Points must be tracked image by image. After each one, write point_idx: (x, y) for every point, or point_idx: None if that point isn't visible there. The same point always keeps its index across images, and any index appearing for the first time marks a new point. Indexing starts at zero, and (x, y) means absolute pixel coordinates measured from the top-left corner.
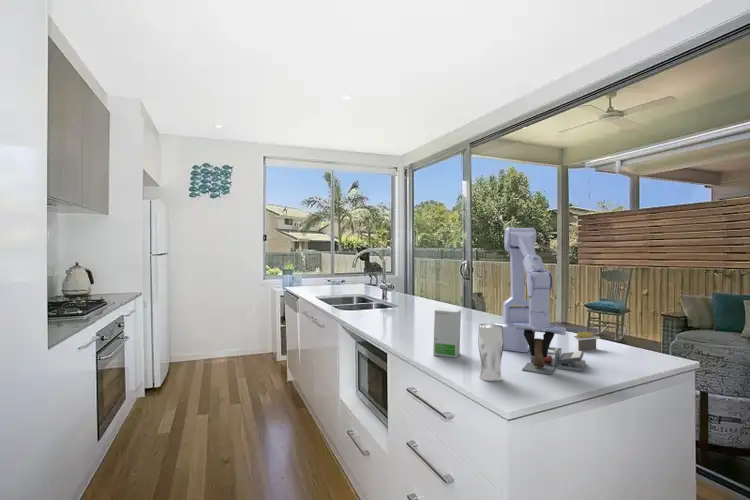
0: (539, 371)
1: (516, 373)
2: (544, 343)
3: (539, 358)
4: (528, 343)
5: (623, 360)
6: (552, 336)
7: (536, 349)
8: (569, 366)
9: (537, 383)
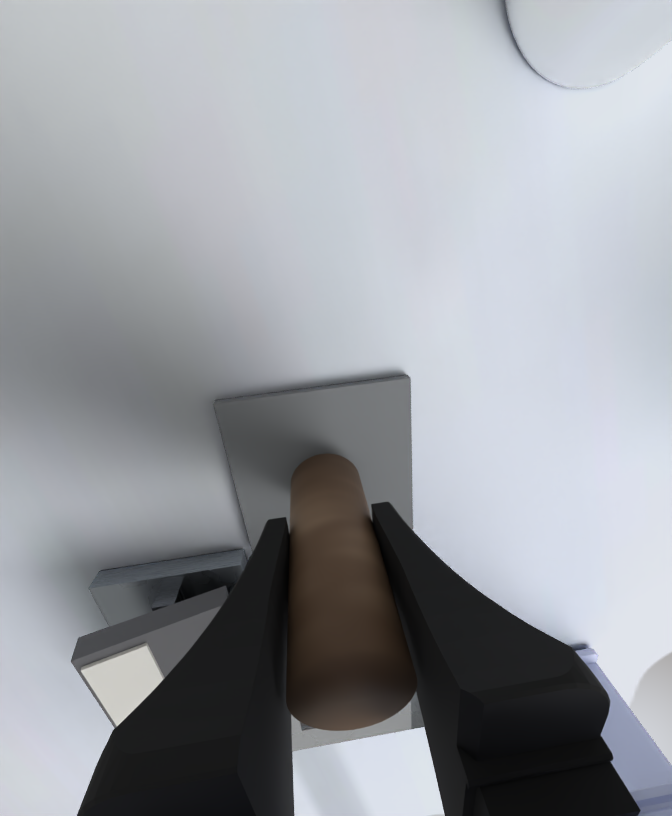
0: (295, 403)
1: (427, 281)
2: (256, 626)
3: (315, 495)
4: (450, 573)
5: (62, 804)
6: (86, 797)
7: (350, 549)
8: (168, 582)
9: (206, 103)
